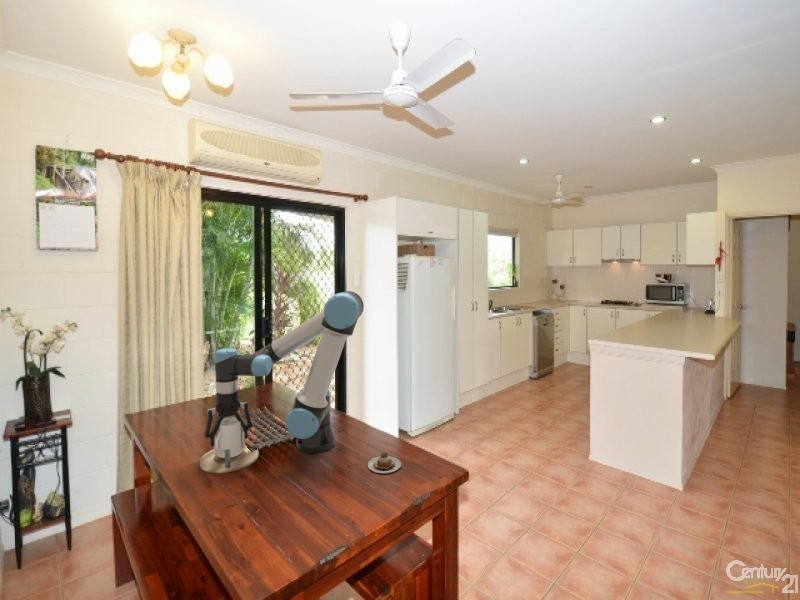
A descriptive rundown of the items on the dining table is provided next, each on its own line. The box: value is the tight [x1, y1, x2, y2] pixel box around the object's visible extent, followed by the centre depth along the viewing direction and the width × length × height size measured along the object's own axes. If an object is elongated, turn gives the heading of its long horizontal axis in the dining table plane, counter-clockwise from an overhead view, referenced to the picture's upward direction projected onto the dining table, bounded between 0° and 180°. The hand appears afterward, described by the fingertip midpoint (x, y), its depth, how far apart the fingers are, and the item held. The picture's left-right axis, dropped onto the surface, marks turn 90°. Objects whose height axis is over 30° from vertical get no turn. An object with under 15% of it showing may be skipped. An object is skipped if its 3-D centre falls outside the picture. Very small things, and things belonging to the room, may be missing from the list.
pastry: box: [367, 452, 402, 475], centre depth 141 cm, size 12×12×5 cm
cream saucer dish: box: [199, 445, 260, 474], centre depth 146 cm, size 20×20×7 cm
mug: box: [216, 417, 242, 458], centre depth 144 cm, size 12×8×12 cm
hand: (229, 450), depth 145 cm, fingers closed on mug, 9 cm apart
